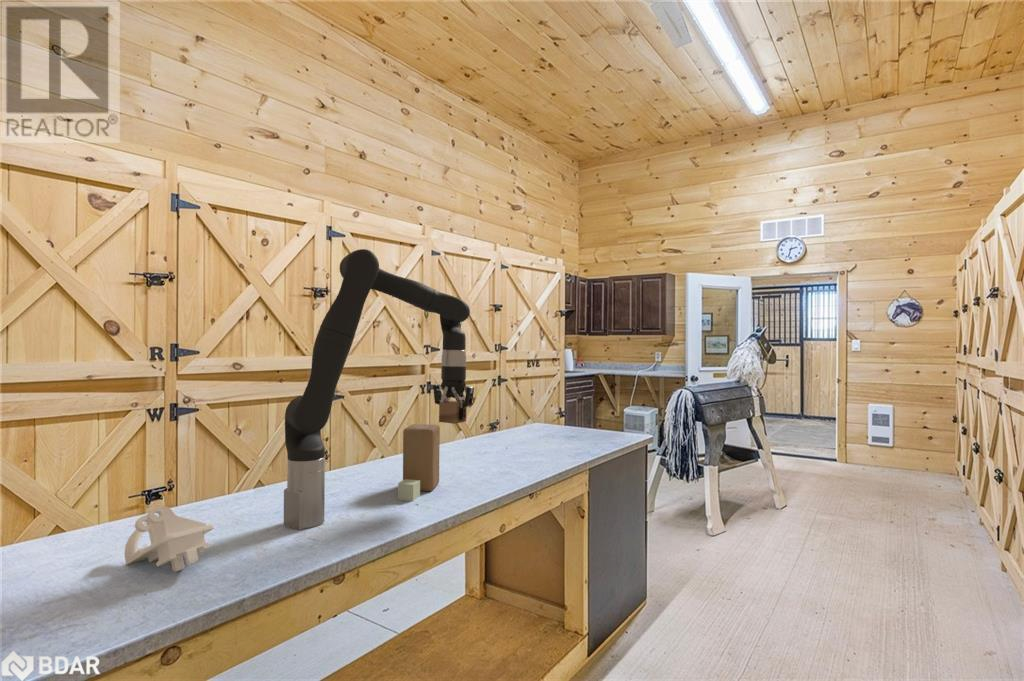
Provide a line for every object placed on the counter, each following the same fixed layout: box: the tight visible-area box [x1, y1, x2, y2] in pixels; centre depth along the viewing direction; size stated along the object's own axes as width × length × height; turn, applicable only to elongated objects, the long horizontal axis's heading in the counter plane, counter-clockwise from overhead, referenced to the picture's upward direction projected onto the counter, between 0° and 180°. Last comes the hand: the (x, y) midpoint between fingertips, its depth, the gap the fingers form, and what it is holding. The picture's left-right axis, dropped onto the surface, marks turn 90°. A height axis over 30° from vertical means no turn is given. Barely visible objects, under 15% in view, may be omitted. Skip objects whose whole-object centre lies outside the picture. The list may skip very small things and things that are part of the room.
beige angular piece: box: [124, 505, 215, 573], centre depth 114 cm, size 20×11×13 cm, turn 56°
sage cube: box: [397, 479, 421, 502], centre depth 164 cm, size 5×5×5 cm
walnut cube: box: [438, 400, 468, 425], centre depth 165 cm, size 6×6×6 cm
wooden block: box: [402, 423, 441, 492], centre depth 175 cm, size 10×10×20 cm
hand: (452, 419), depth 165 cm, fingers closed on walnut cube, 6 cm apart
